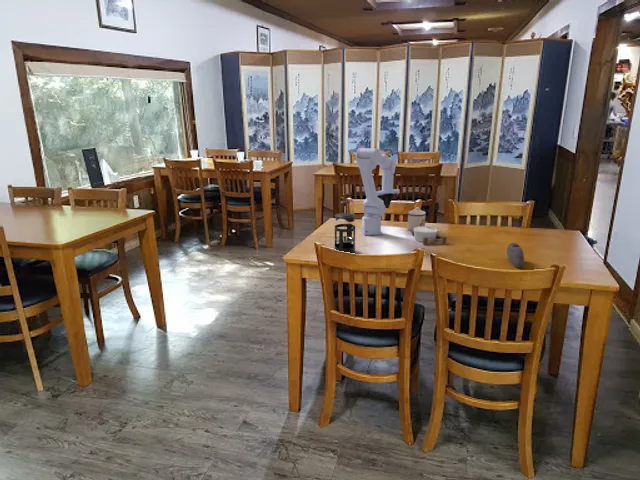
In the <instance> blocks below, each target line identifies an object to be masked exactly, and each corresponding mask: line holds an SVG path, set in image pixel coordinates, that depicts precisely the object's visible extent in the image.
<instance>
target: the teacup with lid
mask: <svg viewBox="0 0 640 480" xmlns="http://www.w3.org/2000/svg"><path fill="white" fill-rule="evenodd" d="M426 215H427V213H426V212H425V211H424V210H422V209H420V207H419V206H418V207H415V208H414V209H412V210H409V211H408V212H407V230H408V231H410V232H412V229H414V228H415V227H420V226H425V225H426Z"/></svg>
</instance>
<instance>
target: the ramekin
mask: <svg viewBox="0 0 640 480" xmlns="http://www.w3.org/2000/svg"><path fill="white" fill-rule="evenodd" d="M413 231H414V236H413V237H414V239H415V241H417V242H420V243H423V237H427V238H428V239H436V235H437V233H438V234H439V230H438V228H437V227H436V228H435V227H431V226H420V227H415V228H414V229H413Z"/></svg>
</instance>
